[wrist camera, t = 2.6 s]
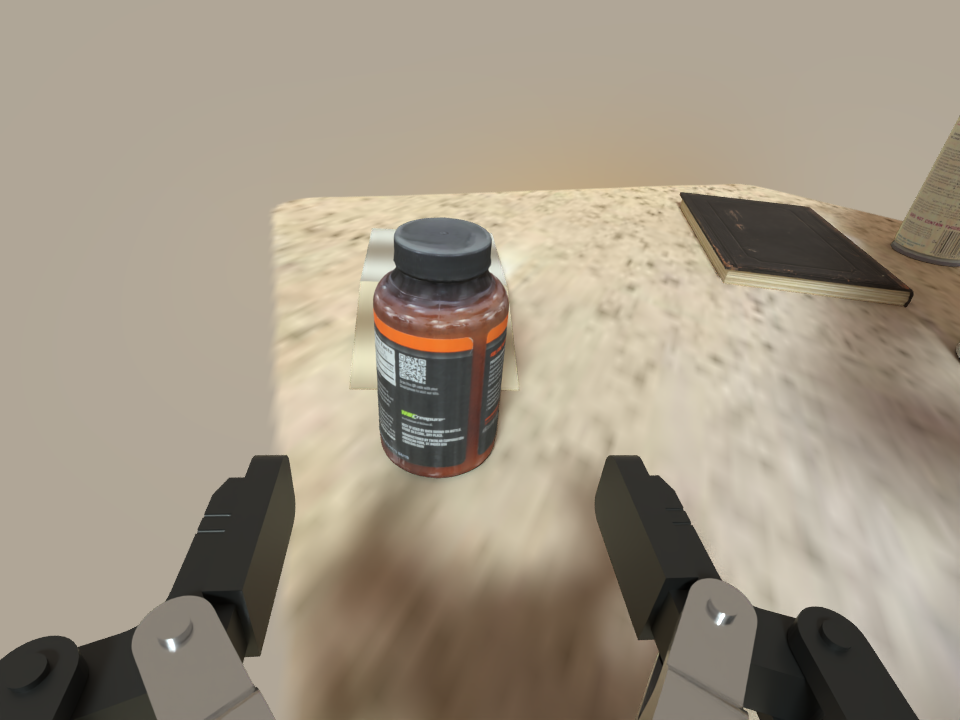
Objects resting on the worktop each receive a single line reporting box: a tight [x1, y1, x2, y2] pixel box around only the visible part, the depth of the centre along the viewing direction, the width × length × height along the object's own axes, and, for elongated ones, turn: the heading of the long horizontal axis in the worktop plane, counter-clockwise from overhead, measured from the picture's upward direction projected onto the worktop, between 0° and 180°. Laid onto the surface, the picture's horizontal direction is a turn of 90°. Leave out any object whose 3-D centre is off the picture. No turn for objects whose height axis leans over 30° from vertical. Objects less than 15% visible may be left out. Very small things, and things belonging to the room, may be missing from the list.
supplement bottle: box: [373, 218, 509, 478], centre depth 24 cm, size 6×6×11 cm
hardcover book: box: [680, 192, 913, 307], centre depth 56 cm, size 16×23×2 cm
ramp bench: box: [349, 228, 519, 390], centre depth 38 cm, size 18×10×4 cm, turn 5°
